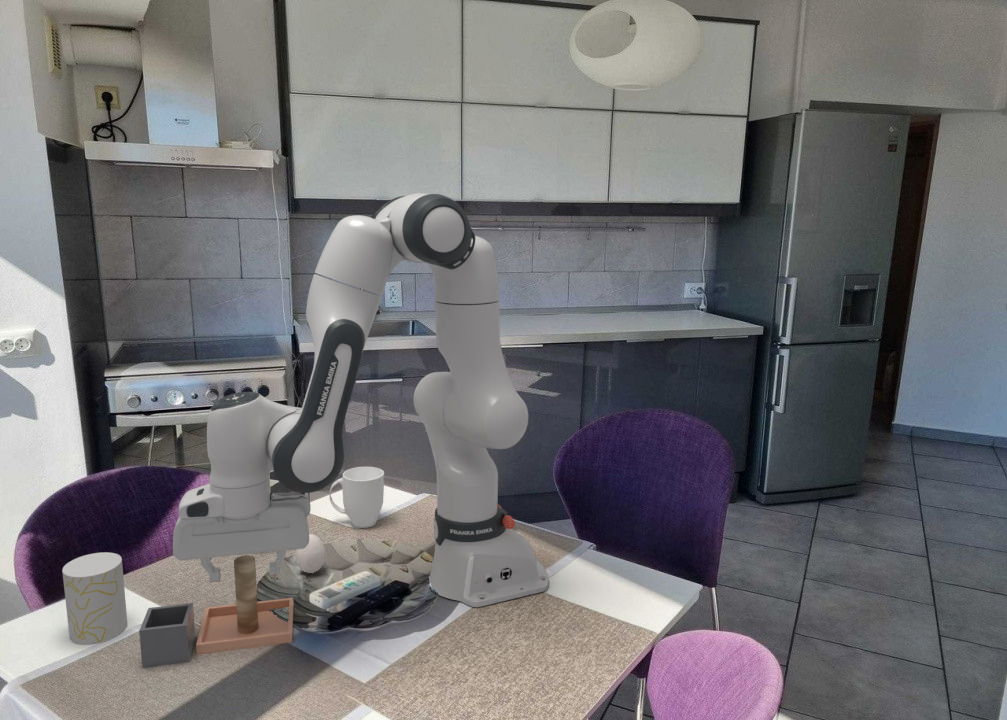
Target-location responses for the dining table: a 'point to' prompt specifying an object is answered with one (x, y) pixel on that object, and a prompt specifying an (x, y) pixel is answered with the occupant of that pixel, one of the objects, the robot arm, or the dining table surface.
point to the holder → (167, 635)
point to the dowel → (246, 594)
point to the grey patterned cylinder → (95, 598)
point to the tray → (224, 634)
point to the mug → (361, 495)
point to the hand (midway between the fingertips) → (245, 577)
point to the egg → (311, 555)
